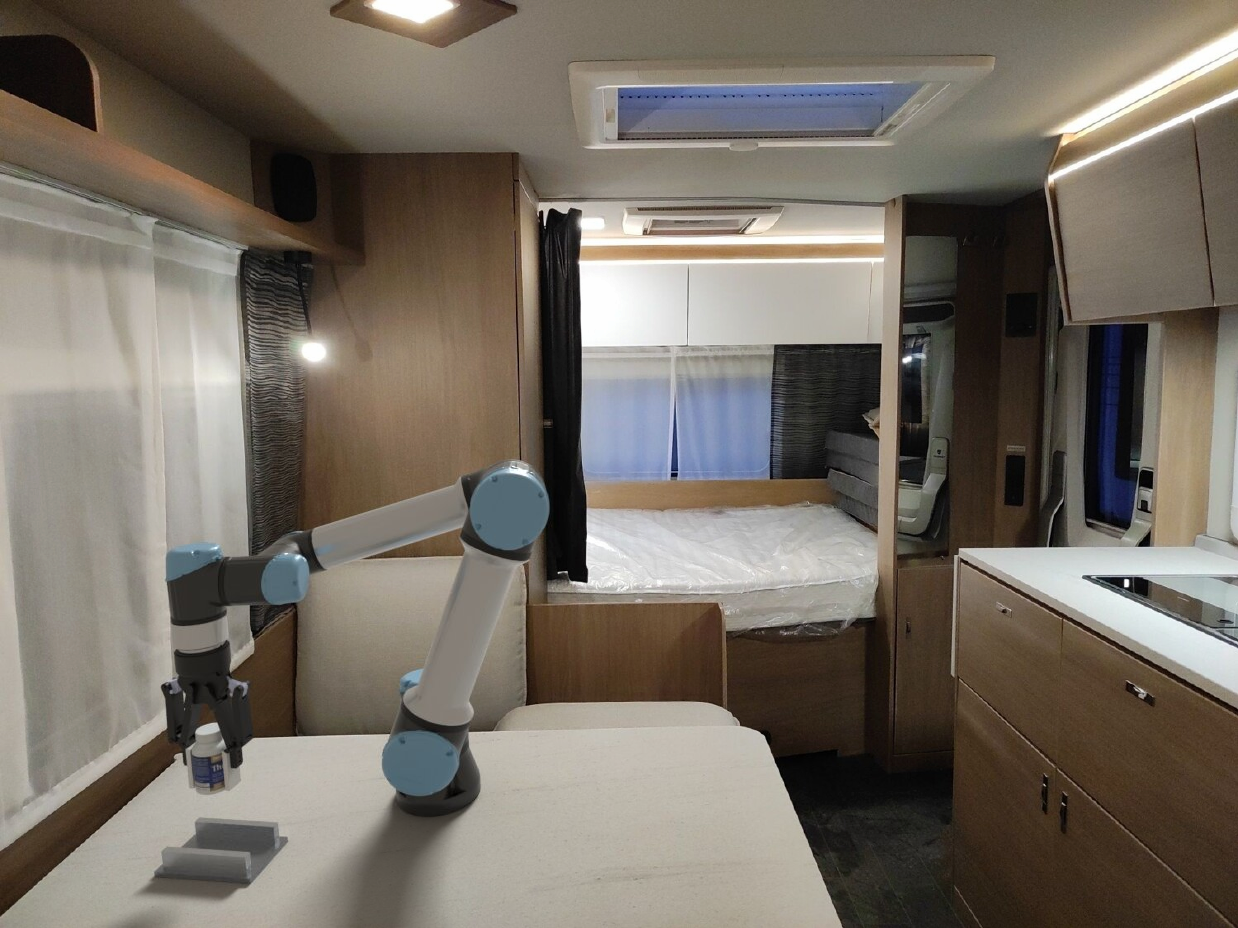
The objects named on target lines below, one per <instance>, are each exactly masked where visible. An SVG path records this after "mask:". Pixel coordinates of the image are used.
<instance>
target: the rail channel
mask: <svg viewBox="0 0 1238 928" xmlns="http://www.w3.org/2000/svg"><path fill="white" fill-rule="evenodd" d="M194 829H195V834H193V835H192V837H191V838H189V839H188V840H186V842H185V843H184V844H183V845H181V846H179V847H178V846H166V847H164V849H162V851H161V859H162V860H161V861H162V862H161V863H162V864H161V865H160V866H159V867H158V868H156V869H155V870H154V871H153V872H154V873H153V875H154V877H156V878H157V877H158V878H170V879H183V880H196V881H208V882H209V881H210V882H211V881H212V882H222V883H234V884H238V883H239V884H249V885H251V884H252V883H253V882H254V881H255V879H256V878H257V877H258V876H260V873H262V871H263V870H264V869H266V867H267V866H268V865H269V863H270V862H271V861H272V860H273V859H274V858H275V857H276V855H277V854H278V853H279V852H280V851H281V850H282V849H283V847H284V846H286V844H287V843H288V842H289V837H288V836H282V835H280V832H279V822H278V821H263V820H261V821H260V820H249V819H248V820H246V819H231V818H229V819H228V818H214V817H198V818H197V819H196V820H195V821H194Z"/></svg>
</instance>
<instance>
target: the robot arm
mask: <svg viewBox="0 0 1238 928" xmlns="http://www.w3.org/2000/svg"><path fill="white" fill-rule="evenodd" d="M550 508H551V507H550V499H549V494H548V492H547V487H546V483H545V481H544V478H543V476H542V474H541V473H540V471H538V469H537V468H536V467H534V466H533V465H531V464H530V463H527V462H526V461H523V460H521V459H520V460H519V459H511V458H510V459H504V460H499V461H497V462H495V463H493V464H490V465H488V466H486V467H484V468H482V469H481V468H480V469H479V470H476V471H474V472H471V473H468V474H464V475H462V476H459V477H458V479H457V480H456V483H455V484H452V485H450V486H449V485H448V486H446V487H443V488H439V489H437V490H433V491H430V492H426V493H423V494H420V495H416V496H414V497H410V498H407V499H403V500H400V501H397V502H394V503H391V504H388V505H385V506H381V507H378V508H374V509H372V510H369V511H365V512H362V513H359V514H355V515H352V516H349V517H346V518H341V519H339V520H336V521H333V522H330V523H326V524H323V525H319V526H317V527H314V528H312V529H308V530H304V531H302V530H299V531H292V532H290V533H287V534H284V535H282V536H280V537H279V538H278V539H276V541H274V543H272V544H271V545H269V546H268V547H267V548H265V549H264V550H263V551H261V552H260V553H258V554H255V555H246V556H224V553H223V550H222V547H221V546H220V545H219V544H218V543H216V542H203V541H202V542H194V543H188V544H181V545H179V546H175V547H174V548H172V549H170V550H168V552H167V553H166V555H165V579H164V582H166V587H167V596H168V597H167V598H168V605H169V613H170V617H169V618H170V628H171V629H170V630H171V640H172V642H171V644H172V647H173V648H174V649H175V650H174V652H173V660H174V669H175V673H176V674H177V675H178V676H177V677H176V676H175V677H172V678H170V679H169V680H168V681H166V682H164V683H162V684H161V685H160V689H161V692H162V694H163V697H164V703H165V713H166V714H165V716H166V719H165V720H166V731H167V741H168V743H169V744H171V745H173V744H177V745H178V746H179V748H180V749H181V754H182V764H183V765H184V766H185V767H187V777H188V786H189V788H188V789H193V790H195V789H196V788H195V779H194V769H193V759H192V747H193V746H194V744H195V743H196V742H197V741H196V736H195V731H196V730H197V729H198V728H199V727H200V722H201V716H202V712H203V711H202V710H203V706H204V704H205V705H207V706H208V709H209V711H210V712H212V713H213V715H214V717H215V721H216V723H218V726H219V729H220V732H221V734H222V737H223V740H224V743H225V745H226V749H224V750H223V751H222V759H223V770H224V781H225V790H224V791H226V792H227V791H229V792H230V791H231V790H233V789H234V788H235V787H236V786H237V785H238V784H239V783H240V782H241V781H242V779H241V778H242V777H241V768H240V766H241V765H242V764H243V761H244V757H243V748H244V746H246V745H247V744H248V743H249V742H251V741H252V740H253V739H254V729H253V721H252V713H251V703H250V698H249V697H250V689H251V686H252V685H251V684H252V683H251V681H250V680H247V679H246V680H244V681H243V682H242V681H239V680H236V679H234V675H233V674H232V672H231V669H230V668H231V665H232V655H231V654H232V653H231V651H232V650H231V643H230V640H228V639H229V637H230V634H229V633H230V632H229V624H228V608H227V607H236V606H237V607H240V606H263V605H266V606H267V605H273V606H274V605H275V606H276V605H277V606H281V605H284V604H291V603H298V602H301V601H303V600H304V598H305V597H306V596H307V593H308V592H307V591H308V589H309V586H310V576H313V575H315V574H319V573H321V572H324V571H327V570H331V569H334V568H337V567H339V566H343V565H346V564H349V563H352V562H356V561H360V560H362V559H365V558H368V557H372V556H375V555H379V554H382V553H385V552H388V551H391V550H395V549H398V548H401V547H404V546H406V545H407V546H408V545H409V544H413V543H416V542H420V541H423V540H427V539H429V538H432V537H433V538H434V537H436V536H439V535H442V534H445V533H448V532H452V531H454V530H459V529H461V532H460V534H459V540H460V542H461V544H462V547H463V548H464V552H463V555H462V558H461V560H460V563H459V567H458V569H457V571H456V572H457V573H456V575H455V576H454V580H453V584H452V586H451V588H450V592H449V595H448V598H447V601H446V603H445V606H444V609H443V612H442V615H441V618H440V620H439V623H438V625H437V629H436V632H435V635H434V638H433V640H432V643H431V646H430V648H429V652H428V654H427V656H426V660H425V663H424V665H423V668H420V669H416V670H412V671H410V672H408V673H406V674H404V675H403V676H402V677H401V678H400V681H399V685H398V686H399V688H398V693H399V699H400V700H399V702H400V703H399V708H398V711H397V714H396V716H395V718H394V719H395V720H394V722H393V726H392V727H391V731H390V734H389V736H388V738H387V742H386V743H385V745H384V746H383V749H382V755H381V768H382V769H381V770H382V772H383V773H382V774H383V775H384V778H385V779H386V780H387V781H388V783H389V784H390V785H391V787H393V788H394V789H395V799H396V804H397V806H398V807H399V808H400V809H401V810H402V811H404V812H406V813H408V814H410V815H414V816H420V817H434V816H441V815H446V814H450V813H453V812H455V811H458V810H460V809H462V808H464V807H466V806H467V805H470V804H471V803H472V802H473V801H474V800H475V799H476V798H477V796H478V795H479V794H480V791H481V787H482V784H481V780H482V779H481V772H480V769H479V767H478V764H477V763H476V762H477V761H476V760H475V757H474V755H473V753H472V750H471V748H470V738H469V737H470V736H469V735H470V733H469V732H470V731H469V729H470V726H471V723H472V720H473V717H474V715H475V713H474V712H475V709H474V708H473V705H472V703H471V702H470V697H471V695H472V693H473V689H474V688H475V684H476V681H477V679H478V676H479V673H480V670H481V668H482V664H483V662H484V659H485V656H486V654H487V651H488V648H489V645H490V642H491V640H492V636H493V634H494V631H495V628H496V625H497V622H498V621H499V617H500V614H501V612H502V609H503V606H504V603H505V601H506V597H507V594H508V592H509V590H510V587H511V583H512V581H513V578H514V577H515V572H516V570H517V568H518V567H520V566H522V565H524V564H526V563H528V562H529V561H530V559H531V556H532V553H533V551H534V547H535V546H536V542H537V540H538V537H539V536H540V535H541V534H542V532H543V530H544V529H545V528H546V525H547V523H548V519H549V515H550ZM229 690H230V691H229ZM184 695H185V697H184Z"/></svg>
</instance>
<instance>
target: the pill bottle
mask: <svg viewBox="0 0 1238 928" xmlns="http://www.w3.org/2000/svg"><path fill="white" fill-rule="evenodd" d="M195 736H196V740H195V742H196V741H197V742H196V743H195V744H194V746H193V747H192V759H193V769H194V779H195V788H194V789H195V792H196V793H197V794H199V795H203V796H212V795H216V794H219V793H221V792H222V793H223V792H224V791H225V781H224V770H223V759H222V751H223V750H224V749H226V745H225V743H224V740H223V737H222V734H221V732H220V729H219V726H218V723H217V722H211V723H207V724H204V725H201V726H199V728H198V729H197V730H196V731H195Z"/></svg>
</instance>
